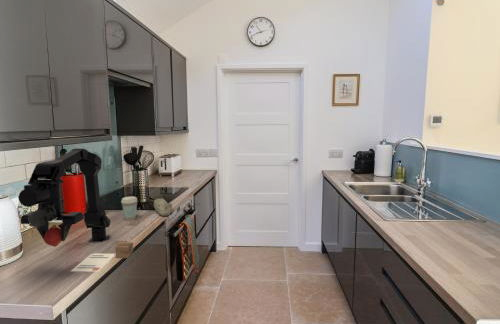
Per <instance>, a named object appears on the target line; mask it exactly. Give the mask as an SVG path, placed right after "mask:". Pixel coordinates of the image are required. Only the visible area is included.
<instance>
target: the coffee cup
mask: <svg viewBox="0 0 500 324" xmlns="http://www.w3.org/2000/svg"><path fill="white" fill-rule="evenodd" d="M120 203H121V207H122V212H123V217H124V221H133V220H135V219H137V207H138V198H137V197H136V196H133V195H132V196H125V197H122V198H121V201H120Z"/></svg>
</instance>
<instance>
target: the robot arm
mask: <svg viewBox="0 0 500 324" xmlns="http://www.w3.org/2000/svg"><path fill="white" fill-rule="evenodd" d="M74 165H78V167H79V168H78V169H79V171H80V172H81V173H82V175H83V176H84V180H85V181H84V182H85V188H86V189H85V191H86V197H87V199H86V200H87V209H86V211H85V212H84V213H83V212H81V211H71V212H69V213H67V214H65V213H66V211H65V209H63V205H62V203H64V202H65V200H64V198H62V194H61V192H62V191H61V184H63V183H64V180H63V179H61V178H63V176H64V175H65V173H66V170H67V169H68V168H70V167H71V166H74ZM101 170H102V158H101V157H100V156H99V155H97V154H96V153H93V152H91V151H89V150H87V149H86V148H73V149H71V150H70V151H68V152H66V153H64V154H63V155H61V156H59V157H57V158H55V159H53V160H46V161H41V162H38V163H37V164H35V167H34V169H33V171H32V173H31V176H30V178H29V180H28V183H27V184H26V185H23V189H22V190H21V191H20V192H19V194H18V197H17V198H18V201H19V203H20V204H21V205H22V206H23V207H27V208H29V207H34V206H36V205H37V209H36V210H34V211H30V212H27V213H24V214H22V215H21V217H20V219H19V221H20V224H21V225H28V226H29V227H33V228H35V229H36V230H37V232H38V233H39V235H40V236H41V238H42V239H43V241H44V236H45V233H46V232H47V231H48V230H49V229H50V227H49V226H50V222H53V221H61V223H60V224H58V225H57V227H58V228H60V229H61V239H62V242H65V241H66V239H67V237H68V234H69V232H70V230H71V228H72V225H76V224H78V223H80V222H81V221H84V225H85V226H86V229H91V238H90V239H89V240H88V242H93V243H95V242H99V243H100V242H104V241H106V240H107V239H108V238H110V235H107V228H109V227H110V225H111V219H110V218H109V217H108V216H107V212H106V210H105V209H104V207H103V206H102V205H101V194H100V185H99V184H100V183H99V177H98V175H99V173H100V171H101Z"/></svg>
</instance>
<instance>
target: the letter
mask: <svg viewBox="0 0 500 324" xmlns="http://www.w3.org/2000/svg"><path fill="white" fill-rule="evenodd" d="M114 257H116V253H91V254H89V255H88V256H87V257H86V258H85V259H83V260H82V261H81V262H80V263H79V264H77V265H75V267H73V268H72V269H71V270H70V272H83V273H85V272H91V273H92V272H94V273H96V272H99V271H100V270H101V269H102V268H104V267H105V266H106V265H107V264H108V262H110V261H111V260H112V259H113V258H114Z"/></svg>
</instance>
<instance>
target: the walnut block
mask: <svg viewBox="0 0 500 324" xmlns="http://www.w3.org/2000/svg"><path fill="white" fill-rule="evenodd" d="M114 252H115V253H114V254H116V255H115V259H129V258H130V257H131V256H132V255H133V254H134V242H133V241H121V242H119V243H117V245H116V246H115V251H114Z"/></svg>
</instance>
